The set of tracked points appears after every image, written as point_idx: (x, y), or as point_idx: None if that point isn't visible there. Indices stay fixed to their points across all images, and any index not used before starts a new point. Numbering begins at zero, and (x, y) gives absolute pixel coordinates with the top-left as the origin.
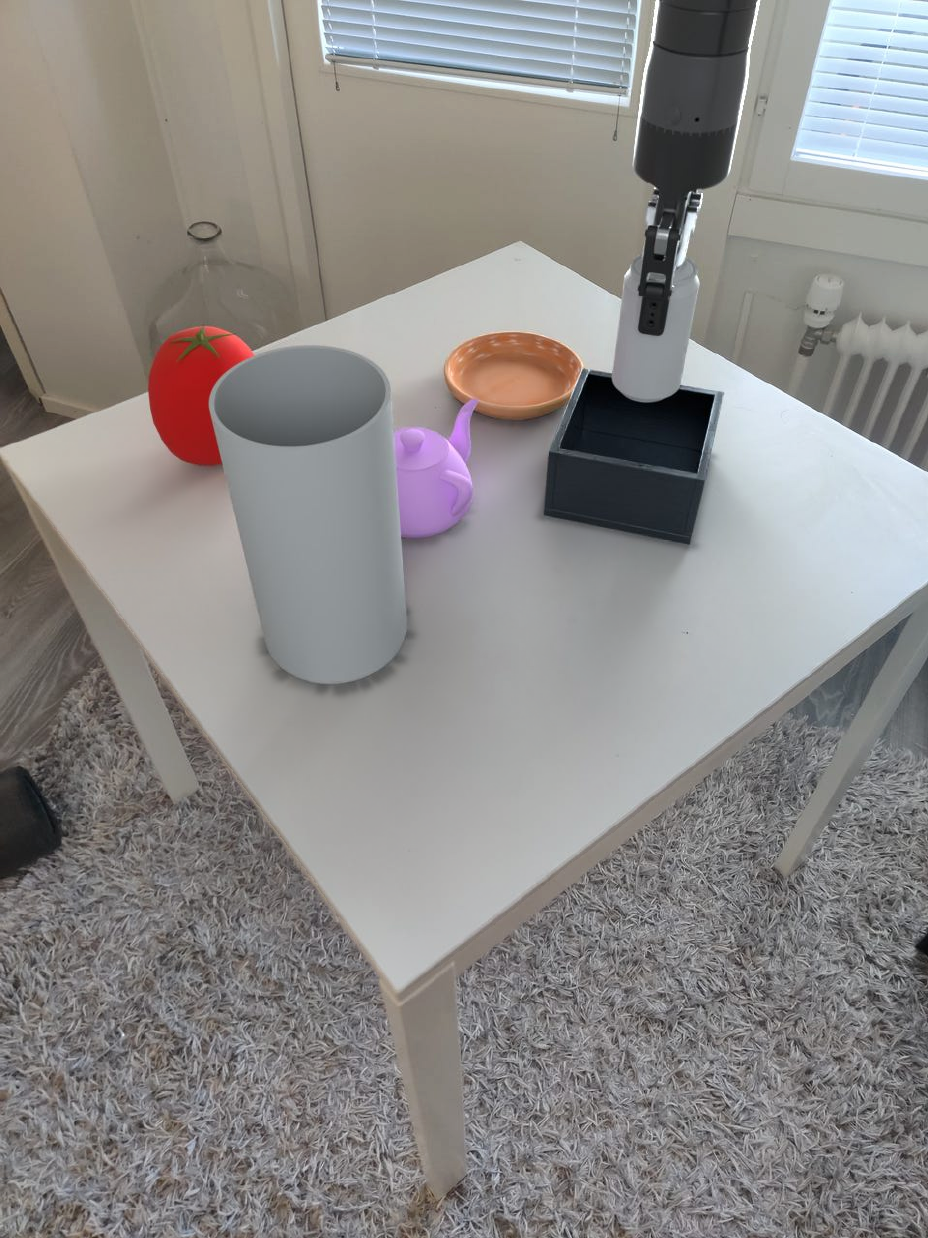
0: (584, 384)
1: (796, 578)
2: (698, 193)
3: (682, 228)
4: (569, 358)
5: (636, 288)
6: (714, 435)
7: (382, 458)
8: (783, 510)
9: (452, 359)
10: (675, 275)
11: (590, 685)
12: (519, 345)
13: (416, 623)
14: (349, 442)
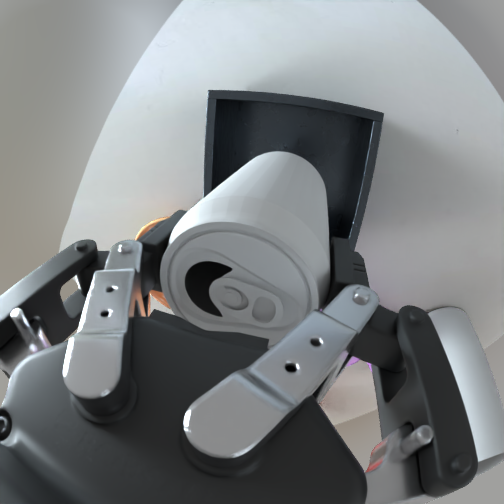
0: None
1: (388, 34)
2: (79, 400)
3: (295, 424)
4: (149, 229)
5: None
6: (298, 96)
7: (501, 426)
8: (301, 32)
9: None
10: (272, 277)
11: (492, 202)
12: None
13: (438, 301)
14: None
